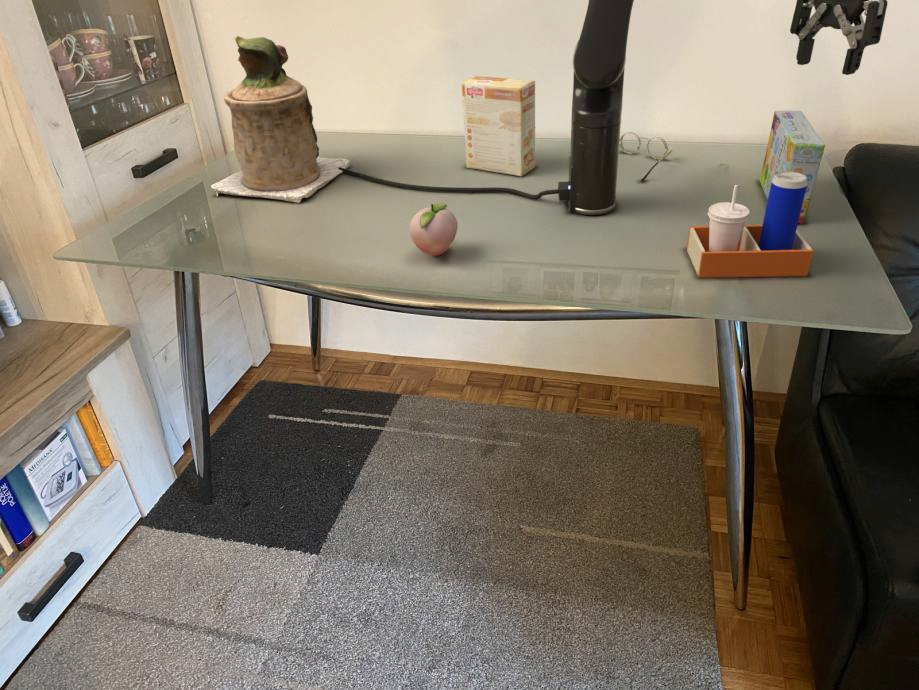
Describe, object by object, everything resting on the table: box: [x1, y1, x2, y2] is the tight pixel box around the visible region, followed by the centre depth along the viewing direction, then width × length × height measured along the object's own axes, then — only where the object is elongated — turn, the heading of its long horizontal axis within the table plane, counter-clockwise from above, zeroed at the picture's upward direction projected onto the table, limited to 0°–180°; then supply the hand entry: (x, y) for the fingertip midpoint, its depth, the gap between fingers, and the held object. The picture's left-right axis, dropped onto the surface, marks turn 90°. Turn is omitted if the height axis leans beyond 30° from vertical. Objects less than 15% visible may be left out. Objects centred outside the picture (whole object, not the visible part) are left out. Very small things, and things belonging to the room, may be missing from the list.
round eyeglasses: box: [619, 131, 673, 182], centre depth 156 cm, size 17×15×5 cm
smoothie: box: [707, 184, 751, 252], centre depth 113 cm, size 6×6×14 cm
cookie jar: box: [210, 35, 351, 204], centre depth 153 cm, size 25×25×32 cm
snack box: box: [759, 110, 826, 224], centre depth 132 cm, size 21×6×15 cm, turn 168°
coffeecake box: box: [461, 75, 536, 177], centre depth 155 cm, size 15×7×20 cm, turn 58°
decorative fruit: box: [409, 202, 459, 256], centre depth 123 cm, size 9×8×10 cm
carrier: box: [685, 224, 814, 279], centre depth 115 cm, size 17×10×4 cm, turn 86°
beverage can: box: [758, 171, 807, 251], centre depth 112 cm, size 5×5×15 cm
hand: (825, 68), depth 109 cm, fingers open, 8 cm apart
